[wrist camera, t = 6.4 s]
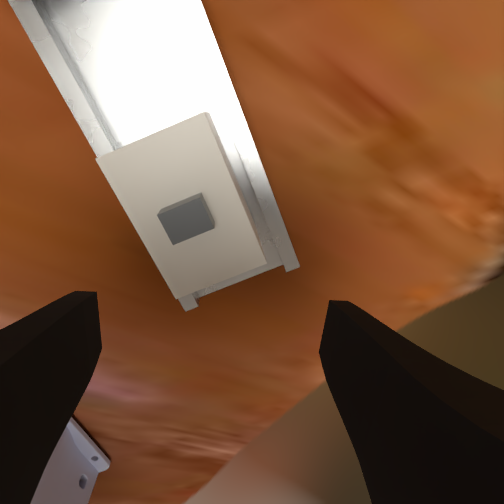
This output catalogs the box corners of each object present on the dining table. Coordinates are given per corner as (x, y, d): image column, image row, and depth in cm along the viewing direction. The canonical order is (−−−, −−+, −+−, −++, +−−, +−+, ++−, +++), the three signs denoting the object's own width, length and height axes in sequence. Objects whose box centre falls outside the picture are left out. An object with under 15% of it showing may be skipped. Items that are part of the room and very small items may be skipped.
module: (255, 224, 18) (269, 272, 12) (187, 252, 18) (173, 310, 13) (209, 112, 15) (202, 111, 10) (132, 145, 16) (86, 161, 10)
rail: (292, 251, 20) (314, 294, 15) (189, 292, 20) (179, 346, 16) (157, -106, 13) (121, -230, 9) (10, -34, 14) (-103, -113, 9)
